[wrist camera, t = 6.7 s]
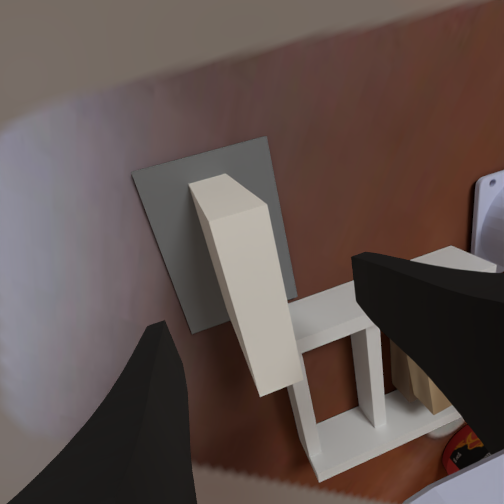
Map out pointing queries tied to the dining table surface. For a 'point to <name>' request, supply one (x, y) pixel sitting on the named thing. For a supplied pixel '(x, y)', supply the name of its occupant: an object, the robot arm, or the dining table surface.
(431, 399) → the offcut top
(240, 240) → the cream rectangular block
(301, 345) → the rack
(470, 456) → the canned food
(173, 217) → the mat
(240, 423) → the dining table surface
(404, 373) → the offcut low
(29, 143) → the dining table surface
